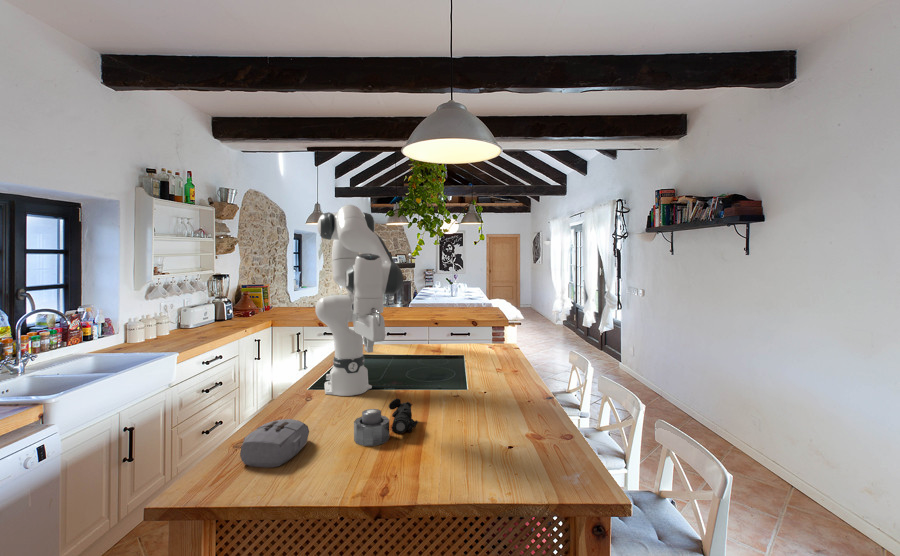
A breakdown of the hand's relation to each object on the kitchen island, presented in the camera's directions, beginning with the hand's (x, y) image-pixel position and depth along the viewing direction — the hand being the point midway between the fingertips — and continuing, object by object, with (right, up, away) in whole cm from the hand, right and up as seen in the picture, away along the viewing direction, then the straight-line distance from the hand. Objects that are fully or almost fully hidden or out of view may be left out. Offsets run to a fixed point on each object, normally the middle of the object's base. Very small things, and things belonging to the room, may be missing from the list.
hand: (368, 351), depth 137 cm
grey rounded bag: (-23, -26, -14) cm, 37 cm away
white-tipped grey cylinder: (+2, -22, -5) cm, 22 cm away
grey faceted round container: (+2, -25, -5) cm, 26 cm away
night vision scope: (+10, -25, +3) cm, 27 cm away
